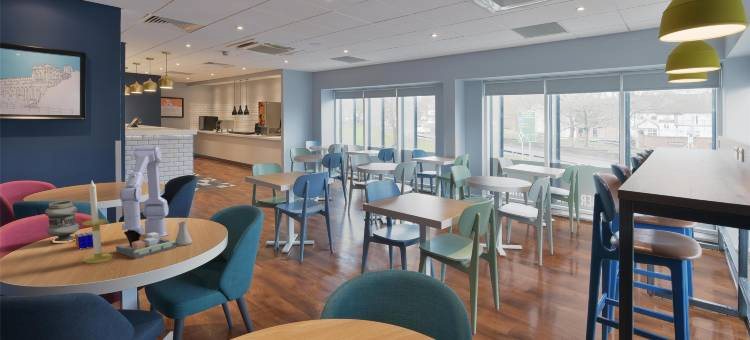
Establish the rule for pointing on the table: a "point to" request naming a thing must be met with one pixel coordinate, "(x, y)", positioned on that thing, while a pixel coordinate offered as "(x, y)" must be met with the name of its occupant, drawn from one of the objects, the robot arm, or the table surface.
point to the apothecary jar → (62, 220)
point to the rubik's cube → (84, 240)
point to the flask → (183, 235)
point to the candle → (96, 229)
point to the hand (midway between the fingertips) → (134, 247)
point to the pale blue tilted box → (150, 242)
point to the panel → (147, 249)
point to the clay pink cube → (138, 245)
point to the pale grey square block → (153, 236)
